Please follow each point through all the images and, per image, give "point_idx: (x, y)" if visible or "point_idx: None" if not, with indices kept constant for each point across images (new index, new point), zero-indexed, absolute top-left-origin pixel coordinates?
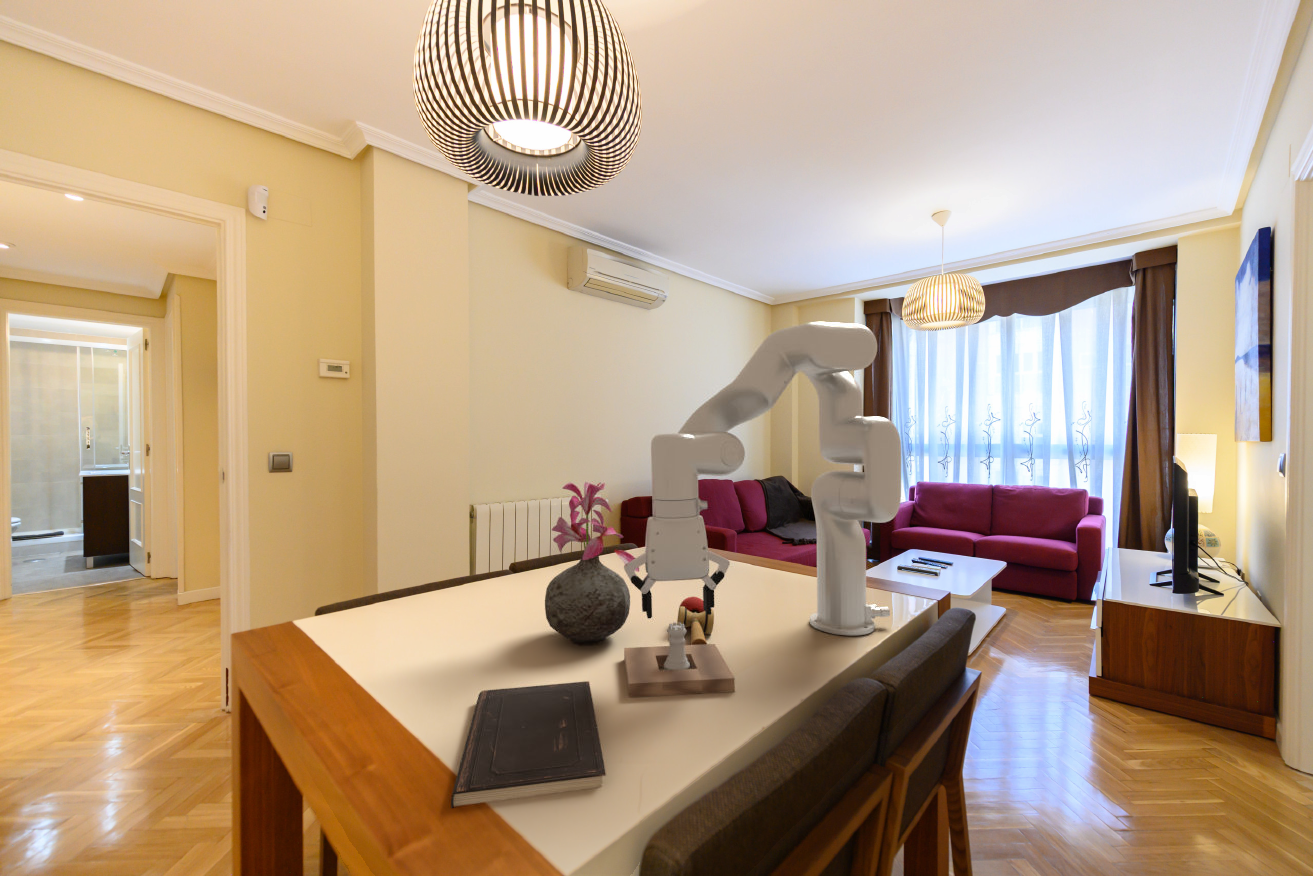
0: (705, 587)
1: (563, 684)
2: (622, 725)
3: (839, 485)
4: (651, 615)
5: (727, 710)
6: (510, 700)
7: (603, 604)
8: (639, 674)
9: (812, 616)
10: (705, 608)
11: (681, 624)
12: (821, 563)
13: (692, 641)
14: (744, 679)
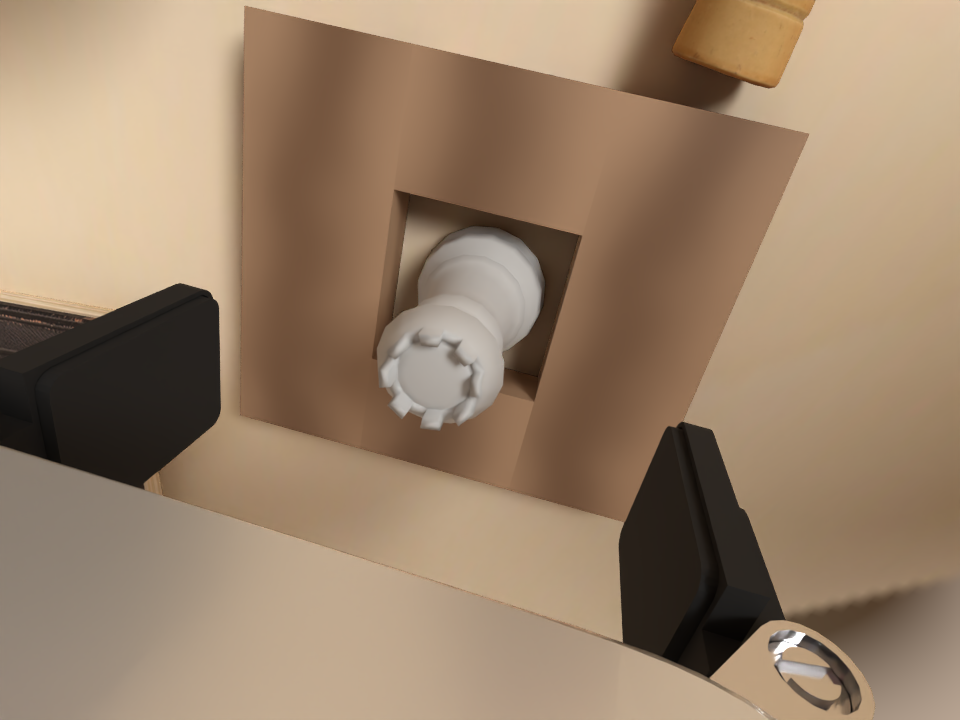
0: (686, 656)
1: (19, 317)
2: (238, 517)
3: None
4: (204, 427)
5: (541, 568)
6: None
7: None
8: (286, 360)
9: None
10: (638, 515)
11: (476, 358)
12: None
13: (688, 45)
14: (734, 428)
